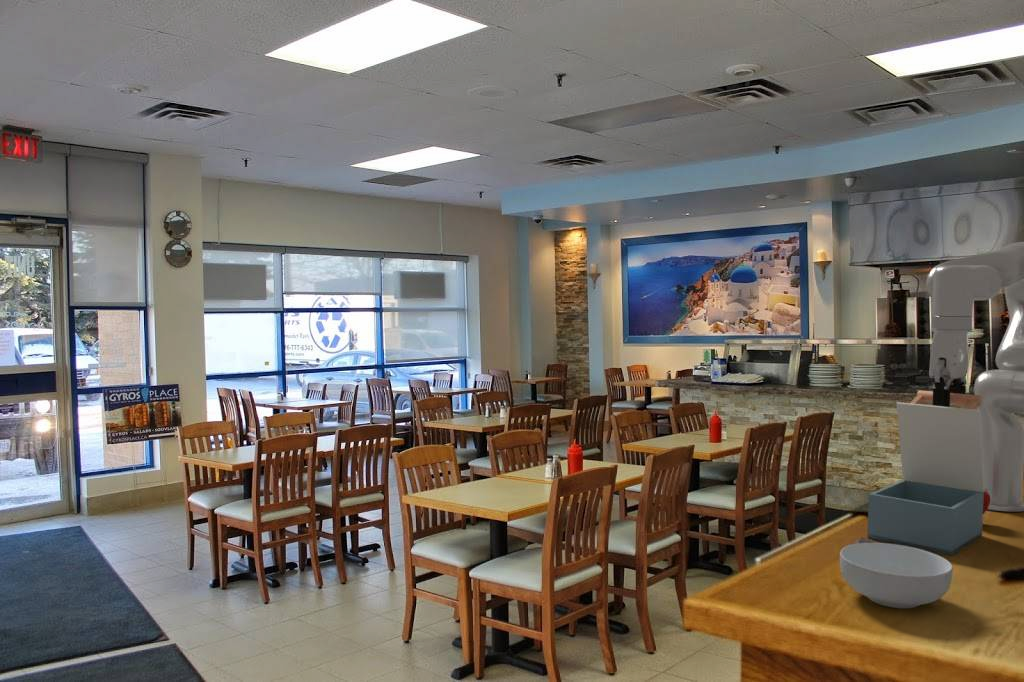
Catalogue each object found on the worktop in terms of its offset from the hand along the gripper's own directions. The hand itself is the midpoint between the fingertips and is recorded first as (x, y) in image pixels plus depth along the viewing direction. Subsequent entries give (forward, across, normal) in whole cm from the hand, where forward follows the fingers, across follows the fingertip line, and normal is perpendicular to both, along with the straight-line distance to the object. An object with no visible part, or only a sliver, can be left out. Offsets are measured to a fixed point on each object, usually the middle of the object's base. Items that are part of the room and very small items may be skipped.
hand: (949, 405), depth 181 cm
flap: (+8, +5, 0) cm, 9 cm away
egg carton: (+26, +37, -1) cm, 45 cm away
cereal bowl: (+26, +52, +9) cm, 59 cm away
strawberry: (+26, -6, +4) cm, 27 cm away
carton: (+26, +12, 0) cm, 28 cm away
